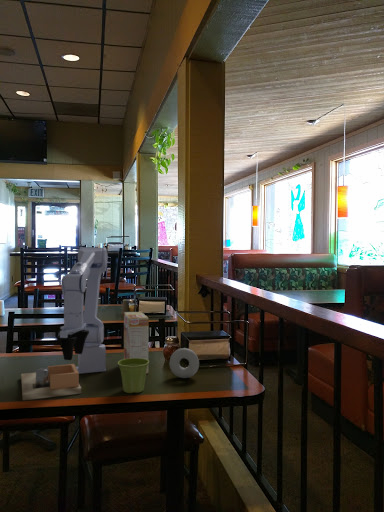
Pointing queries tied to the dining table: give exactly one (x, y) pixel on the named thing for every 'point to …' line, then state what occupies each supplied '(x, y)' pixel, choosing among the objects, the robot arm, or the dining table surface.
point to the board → (43, 389)
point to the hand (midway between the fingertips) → (73, 356)
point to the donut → (189, 356)
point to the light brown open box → (63, 376)
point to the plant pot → (133, 374)
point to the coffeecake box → (136, 335)
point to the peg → (42, 377)
